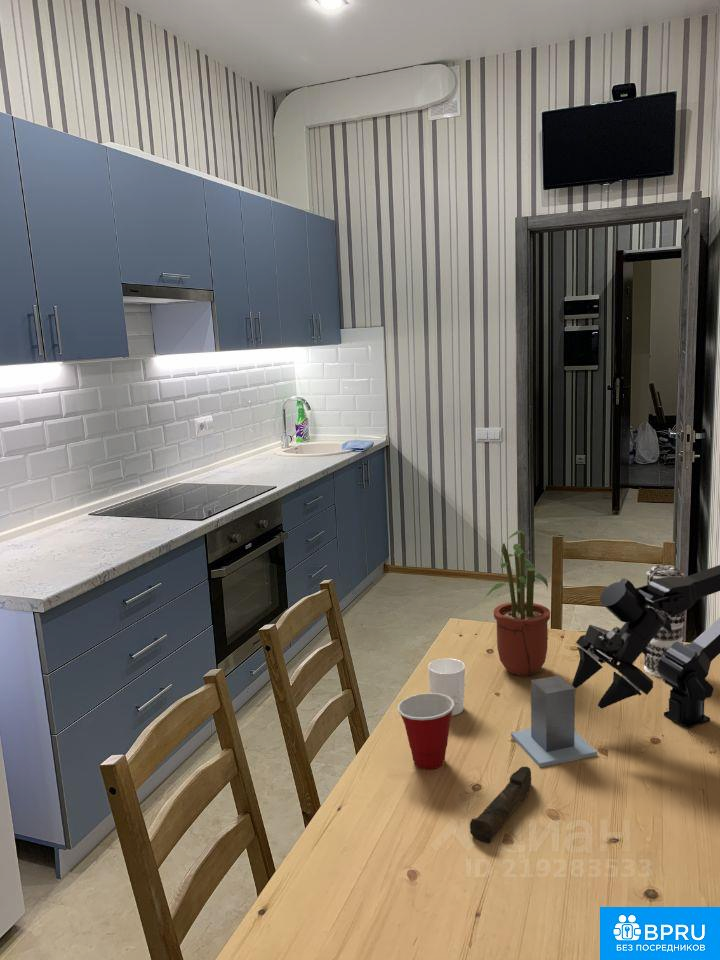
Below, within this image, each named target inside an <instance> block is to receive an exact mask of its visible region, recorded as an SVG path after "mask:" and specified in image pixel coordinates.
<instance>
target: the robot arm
mask: <svg viewBox="0 0 720 960" xmlns="http://www.w3.org/2000/svg"><path fill="white" fill-rule="evenodd" d="M718 592H720V564H718V565H716V566H713V567H710V568H707V569H704V570H701V571H699V572H696V573H692V574H690V575H686V576H684V577H665V578H659V579H655V580H653V581H651V582H650V583H649V584H648V585H647V584H646V585H642V586H639V587H636V586H635V585H634V584H633V582H632V581H630V580H629V579H626V578H624V577H622V578H621V579H620V580H619V581H617V582H613V583H611V584H610V585H608V586H606V587H605V588H604V589H603V590H602V591H601V594H600V597H599V601H600V603H601V605H602V606H603V607H604V608H606V609H607V611H609V612H610V613H611V614H612V615H613V616H614V617H616V618H617V620H619V621H620V622H621V623H624V624H623V625H622V626H621V627H618V626H615V627H613V628H612V629H611V630H607V629H605V628H602V627H599V626H595V625H593V624H589V625H588V628H587V629H586V633H585V634H583V635H580V637H579V638H578V639H577V640H576V641H575V644H577V645H578V646H577V648H576V649H577V651H578V654H579V662H578V665H577V668H576V672H575V675H574V677H573V680H572V682H571V686H572V687H574V688H575V689H577V688H579V687H580V686H582V685H583V684H584V683H586V682H587V681H588V680H589V679H591V678H592V677H593V676H594V675H595V674H597V673H598V672H599V671H600V670H601V669H603V665H602V664H605V663H606V665H609V666H610V667H611V668H613V669H615V670H616V671H618V673H617V672H616V671H613V678H612V683H611V684H610V685H609V687H608V688H607V689H606V691H605V693H604V694H603V695H602V696H601V698H600V700H599V701H598V703H597V707H598V708H600V709H601V710H602V709H605V708H608V707H609V706H613V705H614V704H616V703H618V702H620V701H622V700H626V699H628V698H631V697H633V696H637V695H638V696H641V695H642V693H643V694H645V695H646V696H647V695H648V694H650V693H651V691H652V689H654V681H653V679H652V678H651V677H649V676H648V675H647V673H646V672H643V671H642V669H641V668H639V667H637V666H636V665H634V663H635V662H636V660H637V659H638V658H639V657H640V655H642V654H643V656H644V655H646V654H647V653H648V652H649V651H648V650H647V649H646V647H647V645H648V644H649V643H650V641H651V640H652V639H653V638H654V636H655V635H656V634H657V633H658V631H659V630H660V629H661V628H663V629H665V630H666V631H668V632H671V630H672V629H671V624H670V618H669V617H667V616H665V615H660V614H659V613H658V612H657V611H656V610H655V609H657V610H659V611H664V612H665V613H667V614H670V615H678V614H680V613H682V612H684V613H685V612H686V611H687V610H690V608H693V606H694V605H695V603H696V602H697V601H698V600H700V599H702V598H703V597H708V596H709V595H712V594H717V593H718ZM646 605H649V606H651V607H653V608H655V609H653V608H646ZM682 643H683V642H682ZM682 643H680V642H679V641H677V642H675V643H673V645H672V646H671V647H670V648H669V649H668V650H666V651H664V652H662V654H664V655H663V656H662V657H661V658H660V660H659V662H658V663H659V665H658V672H659V674H660V676H661V677H660V678H662V679H663V683H664V684H665V685H668V686H669V687H671V688H672V689H670V691H669V698H668V710H667V711H664V712H663V716H664V717H666V718H667V719H670V720H672V721H674V723H677V724H679V725H680V726H683V727H684V728H686V729H690V728H693V727H696V726H699V725H702V724H705V723H708V722H710V721H711V717H709V716H708V715H705V701H706V699H708V698H711V697H712V695H713V692H714V690H715V687H714V686H713V685H712V684H711V683H710V682H709V681H708V680H707V679H706V678H707V677H708V675H709V671H710V667H711V663H712V661H713V660H715V658H716V657H718V656H719V655H720V617H718V618H717V619H716V620H715V621H714V622H713V623H712V624H710V625H709V626H708V627H707V628H706V629H705V630H704V631H702V633H701V634H700V635H698V636H697V637H695V639H694V640H692V641H691V642H690V643H687V644H684V643H683V644H682ZM620 674H621V675H620Z"/></svg>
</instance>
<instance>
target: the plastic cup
mask: <svg viewBox="0 0 720 960" xmlns="http://www.w3.org/2000/svg"><path fill="white" fill-rule="evenodd" d="M453 708H454V701H453V699H451V698H450V697H449V696H446V695H443V694H438V693H431V692H425V693H424V692H423V693H418V694H414V695H410V696H408V697H406V698H403V699H402V700H400V701H399V703H398V704H397V712H398V714H400V716H401V718H402V722H403V723H404V728H405V731H406V735H407V740H408V745H409V749H410V751H411V755H412V761H413V762H414V764H415V766H416V767H418V768H420V769H423V770H428V771H429V770H435V769H439V768H440V767H442V766H443V765H444V762H445V760H446V752H447V746H448V741H449V732H450V725H451V720H452V716H451V715H452V710H453Z"/></svg>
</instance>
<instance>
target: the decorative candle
mask: <svg viewBox="0 0 720 960" xmlns="http://www.w3.org/2000/svg"><path fill="white" fill-rule="evenodd" d="M645 574H646V576H647V580H646V581H647V584H646V585H648V584H649V583H650V582H651V581H653V580H655V579H659V578H665V577H685V573H683V572H681V570H680V569H679V568H678V567H677V566H674V565H671V564H657V565H654V566H652V567H651V568H650V570H647V571H646V573H645ZM646 608H653V607H651V606H649V605H646ZM653 609H655V608H653ZM655 610H656V611H657V612H658V613H659V614H660V615H665V616H667V617H669V618H670V624H671V629H672V630H671V632H668V631H666V630H665V629H663V628H661V629H660V630H659V631H658V633H657V634H656V635H655V636H654V638H653V639H652V640H651V641H650V643H649V644H648V645H647V647H646V649H647V650H648V651H649V652H648V653H647V654H646V655H644V654H643V670H644V671H645V673H646V674H648V675H651V676H652V677H657V678H662V677H661V676H660V674H659V672H658V665H659V663H658V662H659V660H660V658H661V657H662V656H663V655H664V654H662V652H664V651H666V650H668V649H669V648H670V647H671V646H672V645H673V643H675V642H677V641H679V642H680V643H682V644H684V643H683V642H682V639H683V637H682V628H683V627H684V622H685V618H684V616H685V615H686V613H685V611H684V612H682V613H680V614H678V615H670V614H667V613H665V612H664V611H659V610H657V609H655Z"/></svg>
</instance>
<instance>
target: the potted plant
mask: <svg viewBox="0 0 720 960" xmlns="http://www.w3.org/2000/svg"><path fill="white" fill-rule="evenodd" d="M518 534H520V537H519V542H520V543H514V544H513V545H512V549H513V551H514V553H513V554H512V553H509V551H508V548H507V546H506V543H505V542H503V543H502V545H501V553H502V556H503V559H504V562H501V563H500V564H499V565H500V569H501V570H503V569H504V568H505V569H506V572H507V581H508V583H506V582H504V581H503V582H498V583H496V584H495V585H494V586H493V587H491V588H490V590H489V591H488V593H487V595H485V597H484V599H483V601H482V602H483V603H484V602H485V600H487V598H488V597H489V596H490V595H491V594H492V593H493V592H495V591H496V590H498V589H500V588H502V587H503V586H506V585H507V584H508V585H509V586H508V587H509V593H510V594H509V595H510V602H507V603H502V604H500V605H497V606H496V607H495V608H494V609H493V617H494V620H495V621H496V645H497V646H496V647H497V652H498V653H497V654H498V656H499V661H500V663H501V664H502V665H503V667H504V669H506V670H507V671H508V672H509V673H511V674H513V675H516V676H532V675H534V674H536V673H537V672H539V671H540V670H541V669H542V667H543V666H544V664H545V662H546V659H547V653H548V633H549V631H548V628H549V627H548V621H549V620H550V618H551V611H550V609H549V608H548V607H546V606H544V605H542V604H538V603H535V602H534V592H535V591H534V589H535V588H534V587H535V585H534V584H535V578H536V579H539V580H540V581H542V582H543V583H544V585H545V586H546V590H548V589H549V585H548V578H546V577H545V576H543V575H542V574H541V573H540V572H539V573H537V572H536V573H535V570H536V567H535V566H534V564H533V563H532V562H531V561H530V560H528V559H527V558H526V554H528V555H529V554H530V552H531V551H530V550H525V549H526V546H525V545H526V542H525V541H526V540H525V539H526V535H525V534H526V533H525V531H522V530H518V531H517V530H516V531H515V532H513V533H511V535H510V536H509V537H508V538H507V540H506V542H508V541H509V540H510V539H511V538H513V537H515V536H517V535H518ZM510 557H514V566H515V582H516V584H514V579H513V572H512V567H511V561H510ZM526 569H527V573H526ZM526 575H527V576H526ZM515 585H516V591H515ZM525 588H526V589H525ZM515 592H516V594H515ZM525 593H526V594H525ZM525 597H526V598H525ZM516 600H517V601H516ZM525 600H526V601H525Z"/></svg>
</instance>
